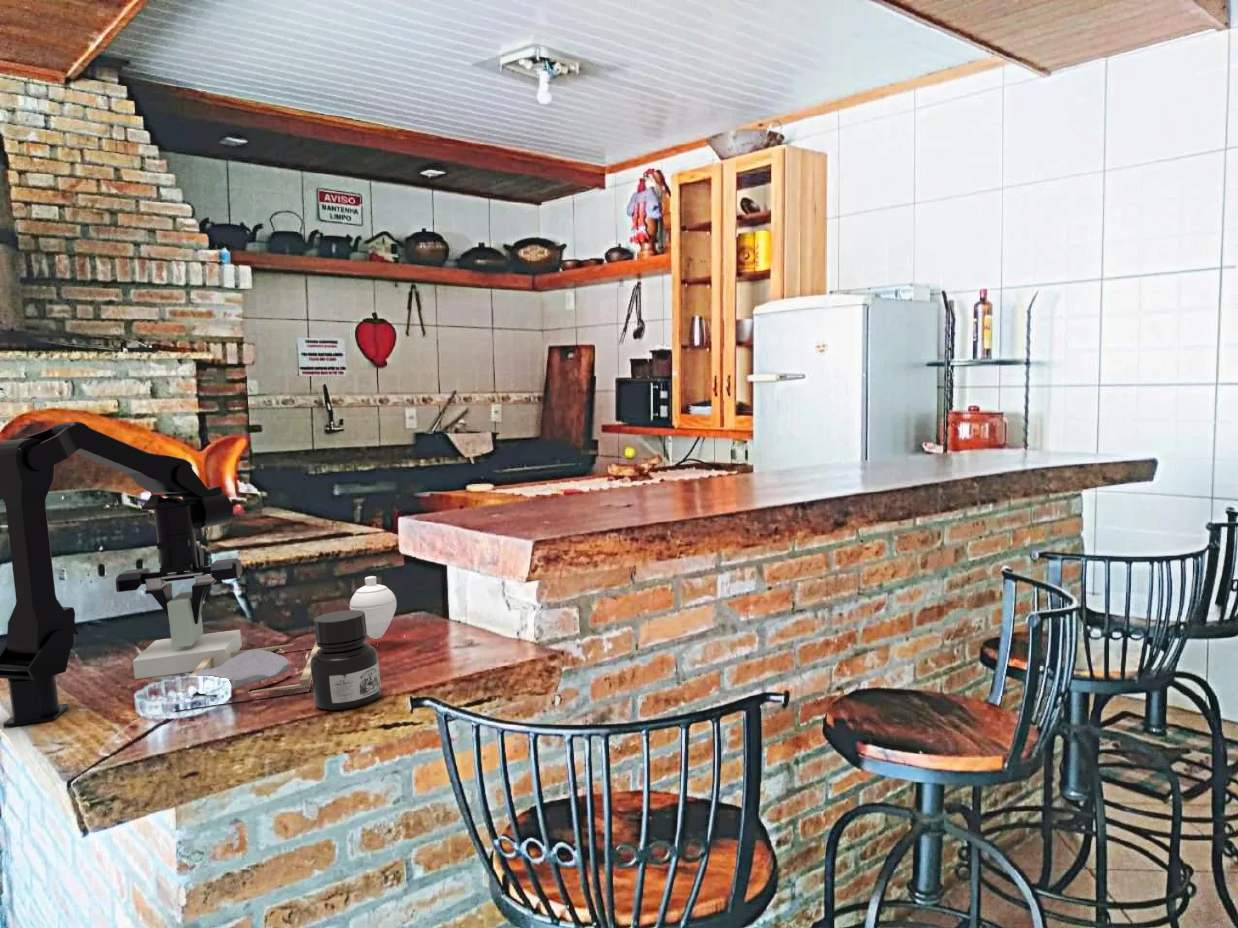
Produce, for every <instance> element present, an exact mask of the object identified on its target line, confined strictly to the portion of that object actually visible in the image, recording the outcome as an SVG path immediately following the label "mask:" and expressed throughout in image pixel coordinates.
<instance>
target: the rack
mask: <svg viewBox="0 0 1238 928" xmlns="http://www.w3.org/2000/svg"><path fill="white" fill-rule="evenodd" d="M316 643H317V642H315V644H314V647H313V649H312V650H311V652H310V654H309V657H308V660H307V661H306V664H305V667H304V669H303V672H302V674H301V676H300V679H299V683H297V684H291V685H283V686H276V687H275V686H274V687H269V688H260V689H256V690H252V691H251V692H248V693H254V692H264V691H273V690H286V689H287V690H288V689H295V688H303V687H304V688H305V687H310V683H311V680H312V675H311V666H310V661H311V658H312V657H313V656H314V655H315V654H316V652H317V650H318V649H320V647H318V646H317V644H316ZM294 644H295V643H291V644H290V643H289V644H283V645H276V646H269V647H260V648H254V649H253V648H252V649H245V650H239V651H236V652H232V653H231V656H232V658H234V657H235V656H237V655H239V654H241V653H244V652H248V651H255V650H264V651H268V652H271V651H274V650H276V649H282V648H285V647H288V646H293V645H294ZM212 668H214V662H213V657H207V658H204V660H203V661H202V662H201V663H200V664H199V666H198V667H197V668H196V669H195V670H194V671H193V672H192V673H191V674H190V675H189V677H191V676H196V674H197V673H198V671H199V670H201V669H212ZM177 691H185V689H180V688H179V689H178V690H177Z"/></svg>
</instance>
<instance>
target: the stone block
mask: <svg viewBox="0 0 1238 928" xmlns="http://www.w3.org/2000/svg"><path fill="white" fill-rule="evenodd" d="M288 670H291V671H292V668H291V665H290V662H289V660H288V658H287V657H285V656H283V655H281V654H275V653H273V652H268V651H264V650H255V651H248V652H244V653H241V654H239V655H237V656H235V657H234V658H231V659H229V660H228V661H226V662H225V663H224V664H223V665H221V666H220V667H216V668H212V669H201V670H199V671H198V673H197V674H196V676H214V677H219V678H227V679H229V681H230V683H231V685H232V687H233V688H237V687H240V686H244V685H246V684H250V683H254V682H258V681H261V680H265V679H268V678H273V677H276V676H279V675H280V674H282V673H284V672H286V671H288Z"/></svg>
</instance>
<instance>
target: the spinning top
mask: <svg viewBox="0 0 1238 928" xmlns="http://www.w3.org/2000/svg"><path fill="white" fill-rule="evenodd" d="M364 583H365V585H363V586H361V587H360V588H358V589H356V590H355V592H354V594H353V595H352V597H351V599H350V601H349V610H360V611H364V613H365V620H366V629H367V637H369V638H373V639H378V638H381V637H383V636H384V634H385V633H386V631H387V630H388V628H389V627H390V624H391V623H392V622H391V621H392V620H393V618H394V615H395V613H396V610H397V598H396V595H395V594H394V592H393V591H392V590H391V589H389V587H388V586H386V585H383V584H379V583H377V576H374V575H370V576H366V577H365V578H364ZM373 639H372V640H373ZM381 639H382V638H381Z"/></svg>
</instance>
